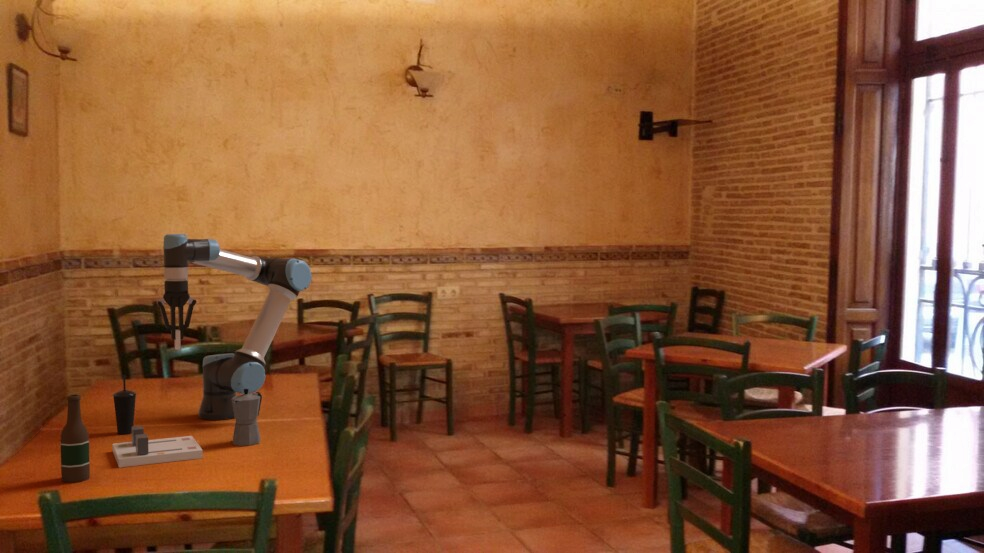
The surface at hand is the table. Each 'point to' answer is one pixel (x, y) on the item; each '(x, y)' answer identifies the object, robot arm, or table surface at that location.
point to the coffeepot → (246, 418)
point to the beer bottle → (74, 445)
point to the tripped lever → (142, 444)
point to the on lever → (136, 433)
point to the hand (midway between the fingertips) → (177, 349)
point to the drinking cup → (124, 409)
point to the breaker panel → (158, 451)
